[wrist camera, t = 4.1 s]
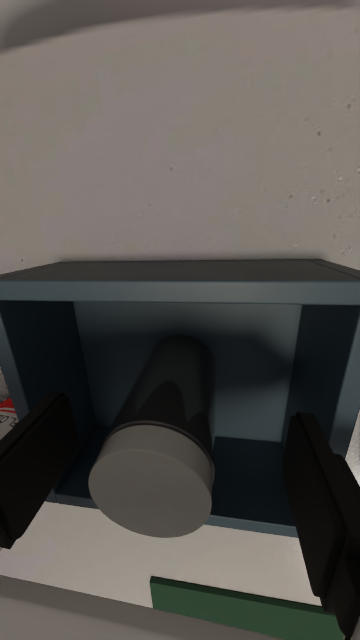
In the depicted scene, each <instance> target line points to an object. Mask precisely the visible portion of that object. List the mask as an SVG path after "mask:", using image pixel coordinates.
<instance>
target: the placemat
mask: <svg viewBox="0 0 360 640" xmlns="http://www.w3.org/2000/svg"><path fill="white" fill-rule="evenodd" d="M150 588H151V596H152V603H153V609H157V610H162V611H166V612H171V613H175V614H179V615H184V616H188V617H193V618H197V619H201V620H206V621H210V622H215V623H219V624H223V625H228V626H232V627H237V628H241V629H245V630H249V631H253V632H257V633H261V634H265V635H269V636H273V637H277V638H281V639H285V640H343V639H344V636H345V635H344V634H343V633H342V632H341V631H340V629H339V626H338V623H337V619H336V616H335V614H331V613H326V612H323V608H322V607H317V606H312V605H306V604H301V603H295V602H290V601H284V600H278V599H273V598H267V597H262V596H256V595H251V594H245V593H239V592H234V591H228V590H223V589H217V588H212V587H206V586H200V585H195V584H189V583H184V582H178V581H173V580H167V579H161V578H156V577H151V579H150Z"/></svg>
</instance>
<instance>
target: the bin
mask: <svg viewBox="0 0 360 640" xmlns="http://www.w3.org/2000/svg"><path fill="white" fill-rule="evenodd" d="M173 335H187V336H191V337H194V338H196V339H198V340H200V341H201V342H203V343H204V344H205V345H206V346H207V347H208V348H209V349H210V351H211V352H212V354H213V356H214V359H215V363H216V437H215V479H214V482H213V485H212V507H211V512H210V515H209V517H208V519H207V521H206V522H205V523H204V524H205V525H212V526H219V527H226V528H233V529H240V530H247V531H254V532H261V533H268V534H275V535H282V536H289V537H296V538H298V534H297V530H296V526H295V522H294V518H293V514H292V510H291V506H290V502H289V498H288V494H287V490H286V486H285V482H284V478H283V473H282V463H283V457H284V451H285V445H286V439H287V434H288V428H289V422H290V417H291V416H295V414H296V412H302V413H313V414H314V415H315V417H316V419H317V421H318V423H319V425H320V427H321V429H322V431H323V433H324V435H325V437H326V439H327V441H328V443H329V445H330V447H331V449H332V451H333V453H335V454H340V455H342V456H343V457H344V459H345V457H346V454H347V451H348V447H349V444H350V440H351V437H352V433H353V430H354V426H355V423H356V420H357V416H358V413H359V409H360V270H356V269H353V268H349V267H346V266H342V265H339V264H336V263H332V262H329V261H325V260H322V259H290V260H198V261H105V262H57V263H53V264H48V265H43V266H38V267H34V268H29V269H24V270H20V271H15V272H10V273H5V274H1V275H0V367H1V370H2V373H3V376H4V379H5V382H6V385H7V388H8V391H9V394H10V397H11V400H12V403H13V406H14V409H15V412H16V415H17V418H18V421H20V420H21V419H22V418H23V417H24V416H26V415H27V414H28V413H29V412H30V411H31V410H32V409H33V408H34V407H35V406H36V405H37V404H38V403H39V402H40V401H41V400H42V399H43V398H44V397H45V396H46V395H47V394H48V393H50V392H61V393H65V394H66V396H67V397H69V400H70V404H71V408H72V413H73V417H74V421H75V426H76V430H77V434H78V439H79V447H78V450H77V452H76V453H75V455H74V456H73V458H72V459H71V461H70V462H69V464H68V466H67V467H66V469H65V470H64V472H63V473H62V475H61V476H60V478H59V480H58V481H57V483H56V484H55V486H54V487H53V489H52V490H51V492H50V494H49V495H48V497H47V498H46V500H45V501H46V502H53V503H59V504H66V505H73V506H80V507H87V508H94V509H99V508H98V507H97V505H96V504H95V502H94V501H93V499H92V497H91V494H90V491H89V485H88V481H89V474H90V471H91V469H92V467H93V465H94V463H95V461H96V459H97V457H98V456H99V454H100V448H101V444H102V442H103V440H104V438H105V436H106V434H107V432H108V430H109V429H110V427H111V425H112V423H113V421H114V419H115V417H116V416H117V414H118V412H119V410H120V408H121V406H122V404H123V402H124V401H125V399H126V397H127V395H128V393H129V391H130V389H131V388H132V386H133V384H134V382H135V380H136V378H137V376H138V374H139V373H140V371H141V369H142V367H143V365H144V363H145V361H146V360H147V358H148V356H149V354H150V352H151V350H152V349H153V347H154V346H155V345H156V344H157V343H158V342H159V341H160V340H162V339H164V338H166V337H169V336H173Z"/></svg>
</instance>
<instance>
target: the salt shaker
mask: <svg viewBox="0 0 360 640" xmlns="http://www.w3.org/2000/svg"><path fill="white" fill-rule="evenodd" d="M215 437H216V363H215V359H214V356H213V354H212V352H211V351H210V349H209V348H208V347H207V346H206V345H205V344H204V343H203V342H201V341H200V340H198V339H196V338H194V337H191V336H187V335H173V336H169V337H166V338H164V339H162V340H160V341H159V342H158V343H157V344H156V345H155V346H154V347H153V349H152V350H151V352H150V354H149V356H148V358H147V360H146V361H145V363H144V365H143V367H142V369H141V371H140V373H139V374H138V376H137V378H136V380H135V382H134V384H133V386H132V388H131V389H130V391H129V393H128V395H127V397H126V399H125V401H124V402H123V404H122V406H121V408H120V410H119V412H118V414H117V416H116V417H115V419H114V421H113V423H112V425H111V427H110V429H109V430H108V432H107V434H106V436H105V438H104V440H103V442H102V444H101V448H100V454H99V456H98V457H97V459H96V461H95V463H94V465H93V467H92V469H91V471H90V474H89V481H88V485H89V491H90V494H91V497H92V499H93V501H94V502H95V504H96V505H97V507H98V508H99V509H100V510H101V511H102V512H103V513H104V514H105V515H106V516H107V517H108V518H110V519H111V520H112V521H114V522H115V523H117V524H118V525H120V526H122V527H124V528H126V529H128V530H130V531H133V532H136V533H139V534H142V535H147V536H152V537H161V538H169V537H178V536H183V535H187V534H189V533H192V532H194V531H195V530H197V529H199V528H200V527H201V526H202V525H203V524H204V523H205V522H206V521H207V519H208V517H209V515H210V512H211V507H212V485H213V482H214V479H215Z"/></svg>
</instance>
